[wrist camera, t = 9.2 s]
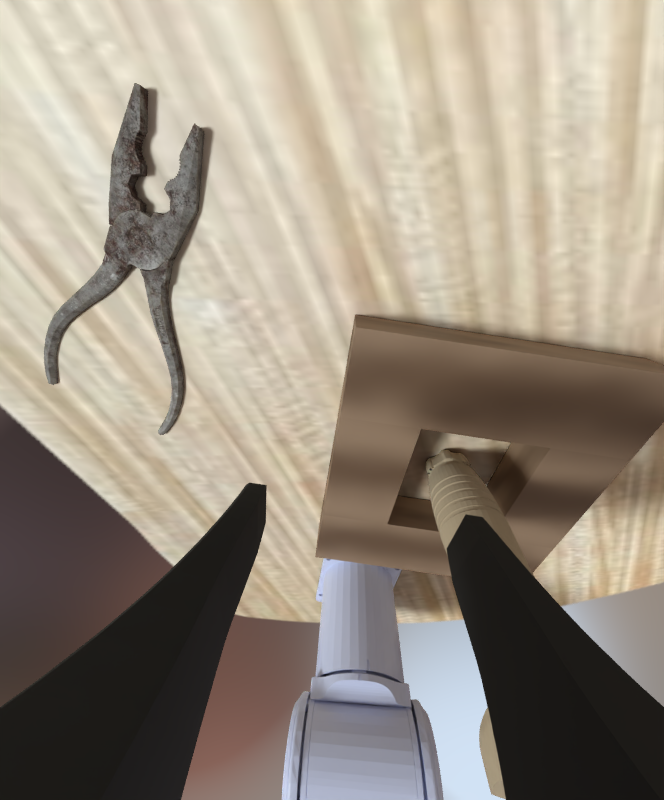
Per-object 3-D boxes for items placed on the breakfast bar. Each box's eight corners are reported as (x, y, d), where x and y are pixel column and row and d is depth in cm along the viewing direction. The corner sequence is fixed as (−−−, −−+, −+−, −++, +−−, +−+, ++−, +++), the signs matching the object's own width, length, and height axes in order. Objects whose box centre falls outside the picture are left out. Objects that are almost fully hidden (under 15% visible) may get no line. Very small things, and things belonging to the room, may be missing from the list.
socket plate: (504, 553, 27) (520, 586, 24) (319, 526, 26) (315, 556, 24) (646, 358, 17) (700, 379, 14) (355, 314, 17) (355, 327, 14)
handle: (400, 485, 23) (463, 793, 10) (432, 424, 20) (583, 753, 7) (454, 497, 24) (583, 812, 10) (494, 439, 20) (749, 783, 7)
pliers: (48, 402, 21) (-30, 11, 11) (58, 397, 22) (-6, 25, 12) (175, 441, 22) (203, 112, 12) (181, 435, 23) (211, 120, 13)
